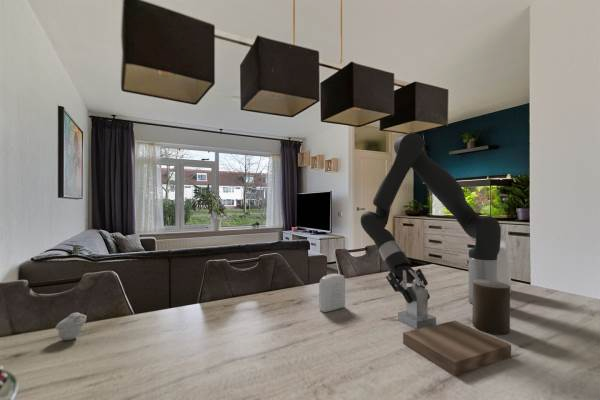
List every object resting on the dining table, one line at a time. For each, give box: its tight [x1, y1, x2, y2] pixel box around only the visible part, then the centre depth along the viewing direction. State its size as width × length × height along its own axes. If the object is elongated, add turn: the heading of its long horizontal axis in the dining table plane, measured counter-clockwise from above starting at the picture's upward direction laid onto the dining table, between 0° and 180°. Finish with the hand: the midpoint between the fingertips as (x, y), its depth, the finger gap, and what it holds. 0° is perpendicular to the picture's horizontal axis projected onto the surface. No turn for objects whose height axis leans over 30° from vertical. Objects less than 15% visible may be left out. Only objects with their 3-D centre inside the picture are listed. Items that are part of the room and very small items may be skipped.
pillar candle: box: [471, 279, 511, 336], centre depth 90 cm, size 10×10×15 cm
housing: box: [397, 285, 437, 330], centre depth 94 cm, size 8×8×11 cm
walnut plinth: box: [402, 320, 512, 376], centre depth 77 cm, size 20×16×3 cm
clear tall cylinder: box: [497, 230, 512, 293], centre depth 127 cm, size 12×12×26 cm
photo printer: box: [318, 273, 346, 313], centre depth 105 cm, size 10×4×12 cm, turn 123°
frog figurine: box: [55, 312, 88, 341], centre depth 82 cm, size 6×7×7 cm
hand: (419, 300), depth 93 cm, fingers open, 6 cm apart
